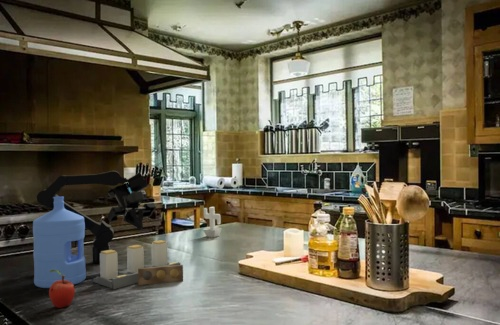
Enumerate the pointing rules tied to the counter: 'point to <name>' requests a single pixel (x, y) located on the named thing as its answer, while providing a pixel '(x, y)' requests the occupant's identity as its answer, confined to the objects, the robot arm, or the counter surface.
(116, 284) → the button board
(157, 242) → the button right
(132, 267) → the button middle
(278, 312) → the counter surface
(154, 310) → the counter surface
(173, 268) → the plaque
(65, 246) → the water jug
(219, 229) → the figurine
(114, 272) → the button left
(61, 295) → the apple
